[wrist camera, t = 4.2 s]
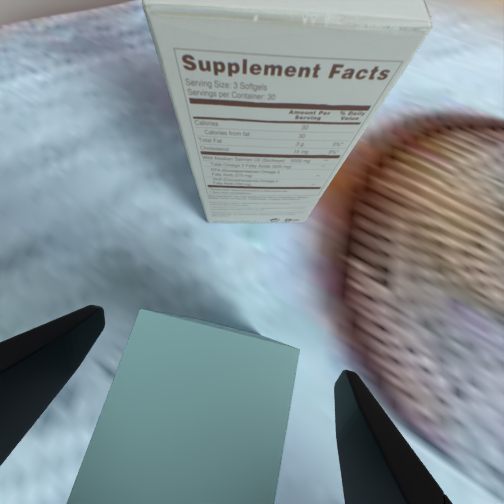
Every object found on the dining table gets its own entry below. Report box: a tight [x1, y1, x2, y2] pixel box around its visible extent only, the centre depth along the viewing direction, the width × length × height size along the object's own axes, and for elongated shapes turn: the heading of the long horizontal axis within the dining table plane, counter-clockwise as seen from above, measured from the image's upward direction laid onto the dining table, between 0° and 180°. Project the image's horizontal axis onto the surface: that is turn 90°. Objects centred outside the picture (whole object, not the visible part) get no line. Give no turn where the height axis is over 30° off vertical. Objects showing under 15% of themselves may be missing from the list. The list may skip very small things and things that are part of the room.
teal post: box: [67, 309, 300, 504], centre depth 10 cm, size 4×4×10 cm
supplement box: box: [142, 0, 433, 223], centre depth 13 cm, size 7×7×13 cm
